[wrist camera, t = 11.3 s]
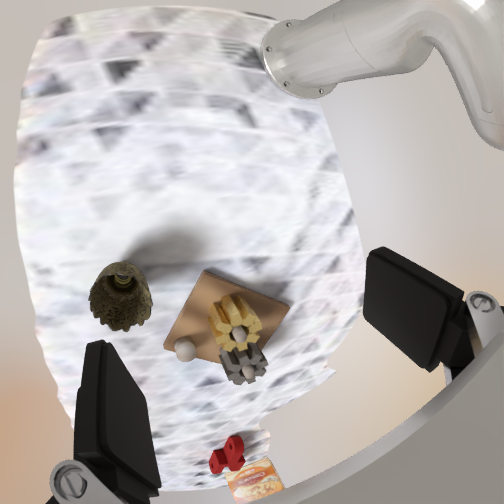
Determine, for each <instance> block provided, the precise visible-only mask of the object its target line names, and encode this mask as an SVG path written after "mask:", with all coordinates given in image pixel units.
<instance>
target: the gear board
mask: <svg viewBox="0 0 504 504" xmlns="http://www.w3.org/2000/svg"><path fill="white" fill-rule="evenodd" d="M226 295H229V296H230V298H231V299H232V301H233V300H234V299H235V298H236V296H237V295H238V296H241V297H243V298H244V299H245V300H246V302H247V303H248V304H249V305H250V306H251V308H252V309H253V311H254V312H255V314H256V315H257V317H258V318H259V320H260V321H261V324H262V329H261V330H259V331H257V333H258V334H259V336H260V337H259V339H258V340H257V341H256V343H253V342H247V348H248V349H245V350H242V351H239V350H238V348H237V347H235V348H233V349H232V350H231V352H229V351H226V350H223V349H222V346H221V344H218V345H217V342H216V340H215V337H214V335H213V333H212V330H211V328H210V325H209V322H208V319H207V317H209V316H211V315H210V312H209V308H210V307H211V305H212V304H213V303H215V304H217V305H218V304H219V305H221V298H220V297H223V296H226ZM289 309H290V307H289V306H288V305H287V304H285V303H282V302H280V301H277V300H275V299H272V298H270V297H267V296H265V295H262V294H260V293H257V292H255V291H252V290H250V289H247V288H245V287H242V286H240V285H237V284H235V283H233V282H230V281H228V280H225V279H223V278H221V277H218V276H216V275H213V274H211V273H209V272H206V271H204V270H203V272H202V274H201V276H200V277H199V279H198V281H197V283H196V285H195V286H194V288H193V290H192V292H191V294H190V296H189V297H188V299H187V301H186V303H185V305H184V307H183V308H182V310H181V312H180V314H179V316H178V318H177V319H176V321H175V323H174V325H173V327H172V329H171V331H170V333H169V334H168V336H167V338H166V340H165V342H164V344H163V345H164V349H166V350H169V351H173V352H176V355H177V358H178V359H179V360H180V361H182V362H189V361H191V360H193V359H194V358H199V359H203V360H207V361H211V362H215V363H220V364H222V365H223V368H224V370H225V373H226V375H227V377H228V379H229V381H231V380H232V381H233V383H234V384H236V385H241V384H242V383H243V382H245V380H246V382H248V384H250V383H253V382H255V381H256V380H255V378H256V377H255V376H263V375H264V374H265V372H266V369H265V368H264V367H265V366H268V363H267V360H266V358H265V356H264V355H263V353H262V351H261V350H262V348H263V347H264V346H265V344H266V343H267V341H268V340H269V339H270V337H271V336H272V334H273V333H274V331H275V330H276V329H277V327H278V326H279V324H280V323H281V321H282V320H283V318H284V317H285V315H286V314H287V312H288V311H289ZM231 332H232V334H233V336H234V338H235V340H236V341H237V342H238V343H243V342H244V341H246V339H247V335H246V333H245V331H244V330H243V328H242V326H241V325H239V326H236V327H233V329H232V330H231Z"/></svg>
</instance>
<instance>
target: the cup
mask: <svg viewBox="0 0 504 504" xmlns="http://www.w3.org/2000/svg"><path fill="white" fill-rule="evenodd" d="M118 275H123V276H125V275H126V276H129V277H128V278H127V279H124V280H123V279H120V278H119V277H118ZM88 301H91V302H90V310H91V312H93V315H94V318H99V317H100V324H101V325H104V324H107V325H108V326H109V328H110V329H111V330H112V331H118V330H121V329H122V330H123V331H124V332H128V331H129V329H130V327H131V326H132V325H133V326H135V325H136V324H137V323H138V324H139V326H142V325H143V324H144V320H147V319H149V318H150V315H151V307H152V306H153V302H152V299H151V294H150V291H149V287H148V284H147V282H146V279H145V277H144V275H143V274H142V272H141V271H140V270H139V269H138V268H137V267H136V266H134V265H132V264H130V263H127V262H115V263H112V264H110V265H108V266H107V267H106V268H104V269H103V270H102V272H101V273H100V274H99V276H98V278H97V279H96V281H95V283H94V285H93V286H92V288H91V290H90V296H89V299H88Z"/></svg>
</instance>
